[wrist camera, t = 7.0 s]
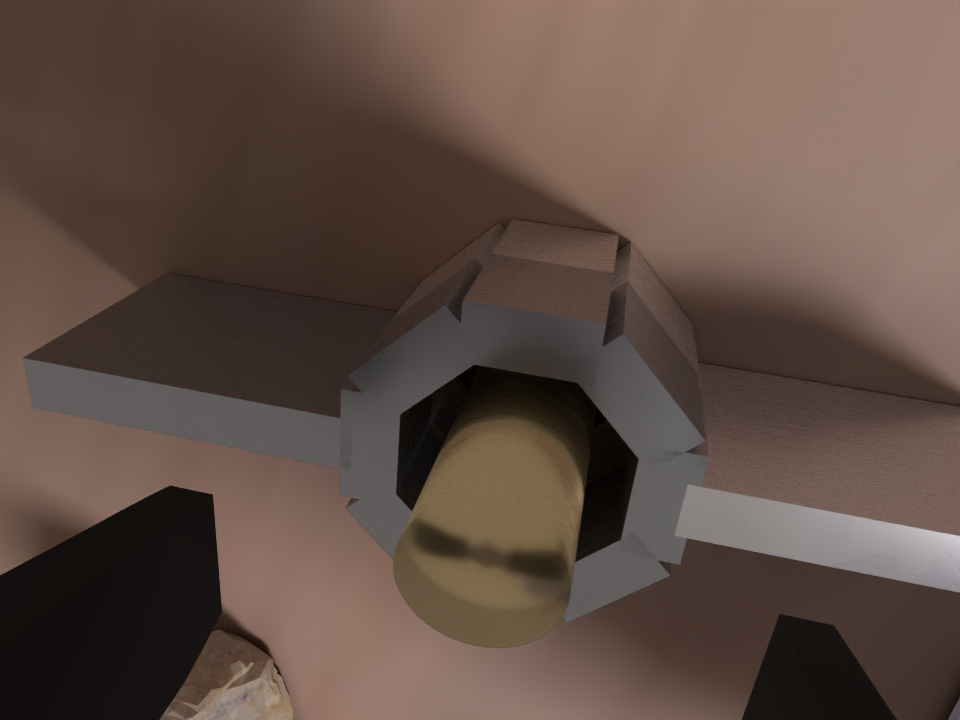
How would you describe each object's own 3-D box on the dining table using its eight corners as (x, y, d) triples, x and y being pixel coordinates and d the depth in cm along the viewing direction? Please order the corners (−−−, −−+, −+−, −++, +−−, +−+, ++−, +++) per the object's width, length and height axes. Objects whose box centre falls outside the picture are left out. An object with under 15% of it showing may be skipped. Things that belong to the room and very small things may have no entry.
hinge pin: (610, 312, 16) (581, 522, 10) (595, 414, 17) (560, 662, 11) (494, 296, 16) (394, 489, 10) (487, 397, 17) (391, 629, 11)
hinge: (1044, 297, 14) (1200, 422, 10) (930, 548, 17) (1017, 726, 13) (156, 166, 16) (-4, 224, 12) (179, 403, 19) (53, 514, 15)
